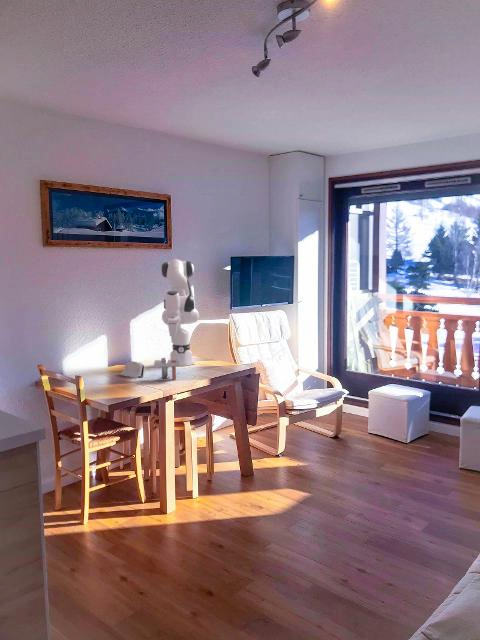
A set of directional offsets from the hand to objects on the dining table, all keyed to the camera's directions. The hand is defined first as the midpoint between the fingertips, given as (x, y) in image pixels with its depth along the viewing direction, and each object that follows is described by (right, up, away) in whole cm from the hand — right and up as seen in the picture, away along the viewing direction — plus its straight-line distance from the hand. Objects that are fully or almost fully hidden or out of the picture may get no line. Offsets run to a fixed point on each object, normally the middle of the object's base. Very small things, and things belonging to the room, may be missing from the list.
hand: (173, 341), depth 332 cm
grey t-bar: (-4, -23, +2) cm, 24 cm away
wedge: (0, -23, +2) cm, 23 cm away
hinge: (-26, -22, +14) cm, 37 cm away
